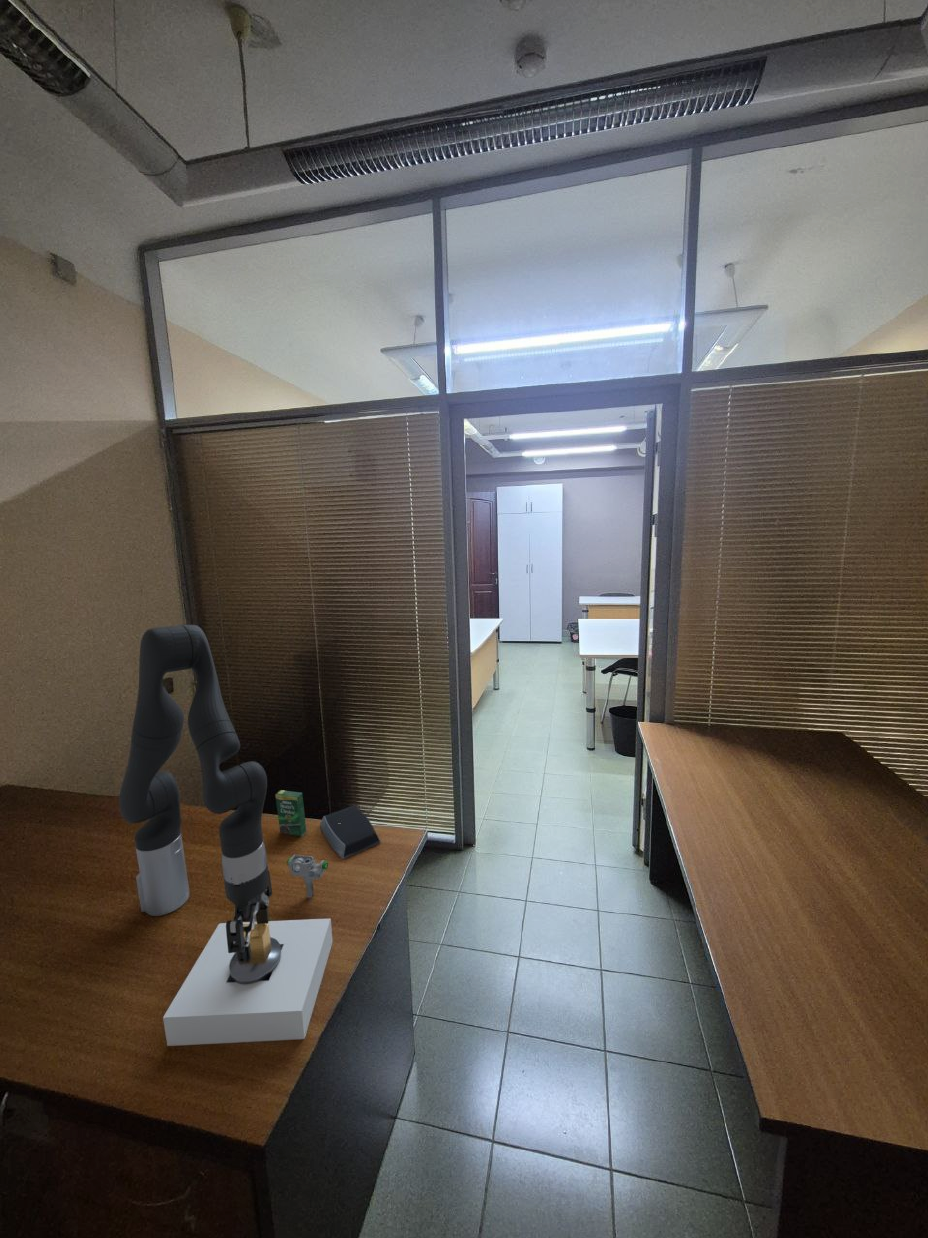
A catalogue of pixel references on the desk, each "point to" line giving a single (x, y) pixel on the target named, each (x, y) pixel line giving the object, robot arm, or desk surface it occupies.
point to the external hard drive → (349, 831)
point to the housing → (252, 990)
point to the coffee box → (291, 813)
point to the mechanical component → (307, 870)
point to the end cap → (257, 957)
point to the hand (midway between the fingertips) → (254, 942)
